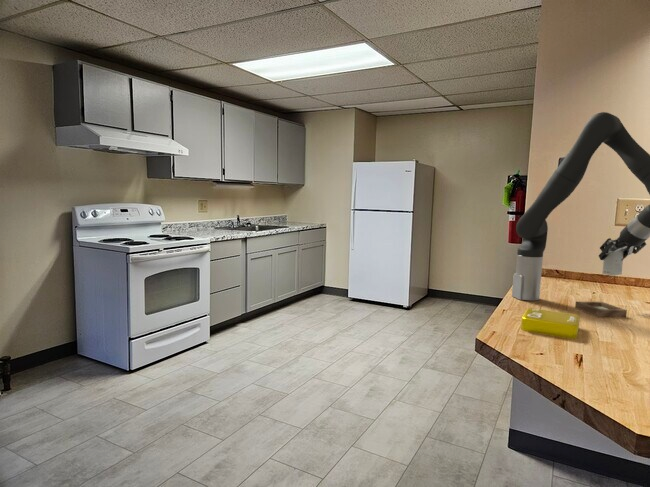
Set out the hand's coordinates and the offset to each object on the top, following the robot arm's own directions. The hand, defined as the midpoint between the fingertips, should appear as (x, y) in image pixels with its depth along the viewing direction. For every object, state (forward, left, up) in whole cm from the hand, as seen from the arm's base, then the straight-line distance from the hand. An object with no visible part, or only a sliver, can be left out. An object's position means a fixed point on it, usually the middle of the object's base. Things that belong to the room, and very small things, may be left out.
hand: (610, 258), depth 159 cm
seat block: (-9, -9, -18) cm, 22 cm away
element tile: (-39, -26, -19) cm, 51 cm away
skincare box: (0, -2, -6) cm, 6 cm away
